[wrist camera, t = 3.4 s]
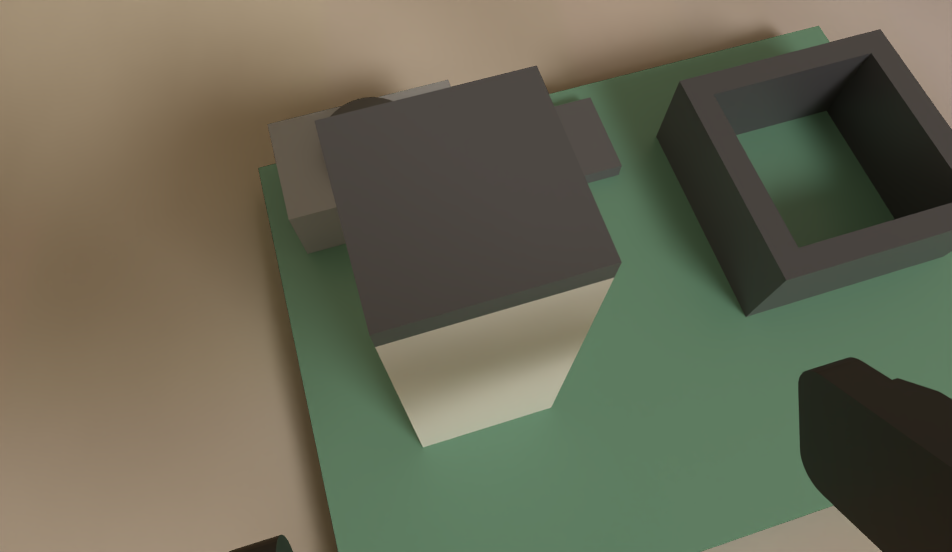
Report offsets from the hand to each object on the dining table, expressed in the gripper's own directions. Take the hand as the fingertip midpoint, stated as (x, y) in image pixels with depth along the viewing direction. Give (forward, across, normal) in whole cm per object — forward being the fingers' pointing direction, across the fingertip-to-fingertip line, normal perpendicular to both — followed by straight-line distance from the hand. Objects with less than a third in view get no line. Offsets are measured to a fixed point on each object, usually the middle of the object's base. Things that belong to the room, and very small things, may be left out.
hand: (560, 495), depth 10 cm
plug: (+10, 0, +3) cm, 11 cm away
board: (+12, -6, +4) cm, 14 cm away
